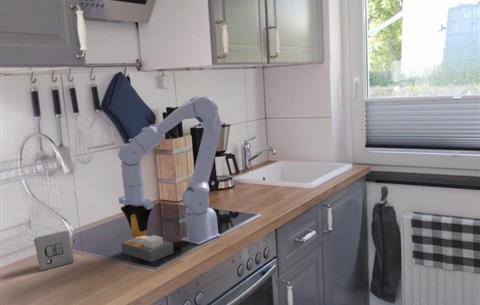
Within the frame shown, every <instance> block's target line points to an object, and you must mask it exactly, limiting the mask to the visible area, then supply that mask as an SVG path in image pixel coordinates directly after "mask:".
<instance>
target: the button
mask: <svg viewBox="0 0 480 305" xmlns="http://www.w3.org/2000/svg"><path fill="white" fill-rule="evenodd" d="M163 240H164V237H162V236H159V235H151V236H149V237H148V238H145V239H143V245H144V247H146V248H150V249H154V248H156V247H159V246H161V245H163Z"/></svg>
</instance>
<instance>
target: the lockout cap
mask: <svg viewBox="0 0 480 305" xmlns="http://www.w3.org/2000/svg"><path fill="white" fill-rule="evenodd" d="M130 217H131V225H132V229H131V232H132V237H134V238H136V237H141V236H144V235H146V236H147V230H145V231H142V232H140V230H139V227H138V222H137V219H136V216H135V214H133V215H131V216H130Z"/></svg>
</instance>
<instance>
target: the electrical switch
mask: <svg viewBox="0 0 480 305" xmlns="http://www.w3.org/2000/svg"><path fill="white" fill-rule="evenodd" d="M33 243H34V246H35V251H36V256H37V262H38V268H39V270H40V271H45V270H50V269H53V268H57V267H60V266H63V265H68V264H72V263H73V262H74V261H75V257H74V252H73V248H72V242H71V238H70V233H69V231H68V230H63V231H59V232H53V233H49V234H46V235H42V236H41V235H40V236H37V237H34V239H33ZM48 261H49V262H48Z"/></svg>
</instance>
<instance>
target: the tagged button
mask: <svg viewBox="0 0 480 305" xmlns="http://www.w3.org/2000/svg"><path fill="white" fill-rule="evenodd" d="M145 238H148V237H145V236H141V237H134V238H131V239H129V240H130V241H131V243H133V244H136V245H138V244H141V243H143V239H145Z"/></svg>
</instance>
